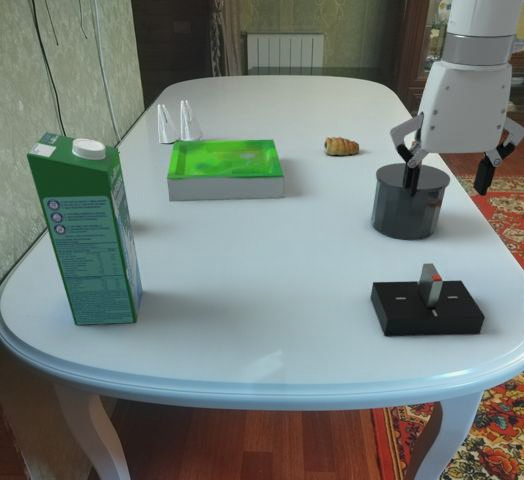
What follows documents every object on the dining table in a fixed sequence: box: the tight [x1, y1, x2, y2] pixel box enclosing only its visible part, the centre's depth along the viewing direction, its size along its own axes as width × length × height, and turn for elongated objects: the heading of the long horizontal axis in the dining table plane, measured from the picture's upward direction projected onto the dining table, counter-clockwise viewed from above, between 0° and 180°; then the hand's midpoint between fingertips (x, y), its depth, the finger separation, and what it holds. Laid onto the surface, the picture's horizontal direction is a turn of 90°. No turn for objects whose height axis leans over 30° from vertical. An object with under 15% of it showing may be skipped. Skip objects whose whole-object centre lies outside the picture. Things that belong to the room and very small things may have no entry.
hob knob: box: [418, 262, 444, 308], centre depth 74 cm, size 5×1×5 cm, turn 2°
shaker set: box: [157, 99, 204, 145], centre depth 139 cm, size 12×4×11 cm, turn 81°
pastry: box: [323, 136, 360, 156], centre depth 135 cm, size 9×7×4 cm
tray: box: [166, 139, 285, 202], centre depth 120 cm, size 25×25×5 cm
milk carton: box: [26, 131, 143, 326], centre depth 71 cm, size 9×9×25 cm
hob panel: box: [370, 279, 486, 337], centre depth 76 cm, size 14×10×3 cm
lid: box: [375, 140, 451, 192], centre depth 93 cm, size 14×14×7 cm
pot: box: [370, 179, 446, 241], centre depth 98 cm, size 13×13×10 cm
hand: (444, 192), depth 70 cm, fingers open, 9 cm apart
